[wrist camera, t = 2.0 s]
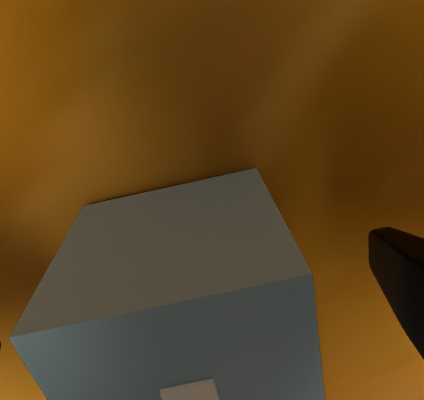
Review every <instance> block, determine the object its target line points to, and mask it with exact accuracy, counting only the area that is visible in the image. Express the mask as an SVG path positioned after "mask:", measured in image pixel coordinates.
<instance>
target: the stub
mask: <svg viewBox="0 0 424 400" xmlns="http://www.w3.org/2000/svg"><path fill="white" fill-rule="evenodd" d="M9 340H10V341H11V343H12V345H13V346H14V348H15V349H16V351H17V352H18V354H19V356H20V357H21V359H22V360H23V362H24V364H25V365H26V367H27V368H28V370H29V371H30V373H31V375H32V376H33V378H34V379H35V381H36V383H37V384H38V386H39V387H40V389H41V390H42V392H43V394H44V395H45V397H46V398H47V400H325V394H324V384H323V374H322V364H321V354H320V345H319V335H318V325H317V315H316V305H315V295H314V286H313V276H312V272H311V270H310V268H309V267H308V265H307V263H306V261H305V259H304V257H303V255H302V253H301V251H300V249H299V248H298V246H297V244H296V242H295V240H294V238H293V236H292V234H291V232H290V230H289V229H288V227H287V225H286V223H285V221H284V219H283V217H282V215H281V213H280V211H279V210H278V208H277V206H276V204H275V202H274V200H273V198H272V196H271V194H270V193H269V191H268V189H267V187H266V185H265V183H264V181H263V179H262V177H261V175H260V174H259V172H258V170H257V168H254V169H249V170H245V171H240V172H236V173H231V174H226V175H222V176H217V177H213V178H208V179H204V180H199V181H195V182H190V183H186V184H181V185H176V186H172V187H167V188H163V189H158V190H154V191H149V192H145V193H140V194H135V195H131V196H126V197H122V198H117V199H113V200H108V201H104V202H99V203H95V204H90V205H85V206H83V207H82V209H81V210H80V212H79V214H78V216H77V217H76V219H75V221H74V223H73V225H72V226H71V228H70V230H69V232H68V233H67V235H66V237H65V239H64V240H63V242H62V244H61V246H60V248H59V249H58V251H57V253H56V255H55V256H54V258H53V260H52V262H51V264H50V265H49V267H48V269H47V271H46V272H45V274H44V276H43V278H42V280H41V281H40V283H39V285H38V287H37V288H36V290H35V292H34V294H33V295H32V297H31V299H30V301H29V303H28V304H27V306H26V308H25V310H24V311H23V313H22V315H21V317H20V319H19V320H18V322H17V324H16V326H15V327H14V329H13V331H12V333H11V335H10V336H9Z"/></svg>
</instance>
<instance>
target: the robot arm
mask: <svg viewBox="0 0 424 400" xmlns="http://www.w3.org/2000/svg"><path fill="white" fill-rule="evenodd" d="M368 245H369V264H370V268H371V270H372V272H373V274H374V276H375V278H376V280H377V282H378V283H379V285H380V287H381V289H382V291H383V293H384V295H385V297H386V298H387V300H388V302H389V304H390V306H391V308H392V310H393V312H394V313H395V315H396V317H397V319H398V321H399V323H400V324H401V326H402V328H403V329H404V331H405V333H406V334H407V336H408V337H409V339H410V340H411V342H412V343H413V345H414V346H415V347H416V349H417V350H418V352H419V353H420V355H421V356H422V358H423V359H424V238H421V237H418V236H415V235H412V234H409V233H406V232H403V231H400V230H397V229H394V228H391V227H383V228H378V229H373V230H371V231H370V232H369V236H368ZM0 348H1V343H0Z"/></svg>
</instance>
